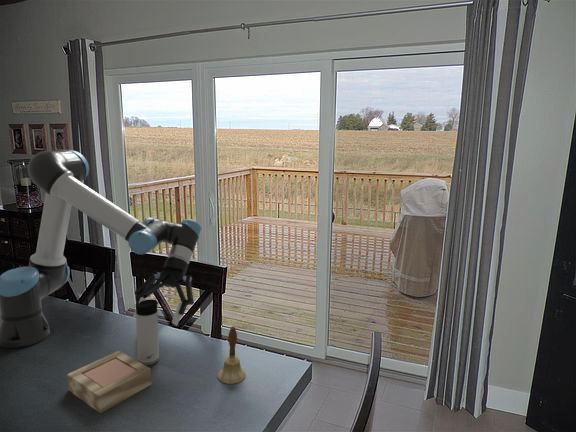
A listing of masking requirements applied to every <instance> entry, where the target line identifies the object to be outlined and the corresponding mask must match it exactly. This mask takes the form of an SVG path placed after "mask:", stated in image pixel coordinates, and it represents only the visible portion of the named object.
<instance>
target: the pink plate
mask: <svg viewBox="0 0 576 432" xmlns="http://www.w3.org/2000/svg"><path fill="white" fill-rule="evenodd" d="M134 371H136V370H135V369H133V368H131V367H129V366H128V365H126V364H124V363H123V362H121V361H119V360H117V359H114V360H111V361H109V362H107V363H105V364H103V365H101V366H99V367H97V368H95V369H92V370H90V371H88V372H86V373H84V374H83V375H85V376H86V377H88V378H89V379H91V380H92V381H94V382H95V383H97V384H98V385H100V386H101V387H105V386H107V385H109V384H111V383H113V382H115V381H117V380H119V379H121V378H123V377H124V376H126V375H128V374H130V373H132V372H134Z"/></svg>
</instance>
